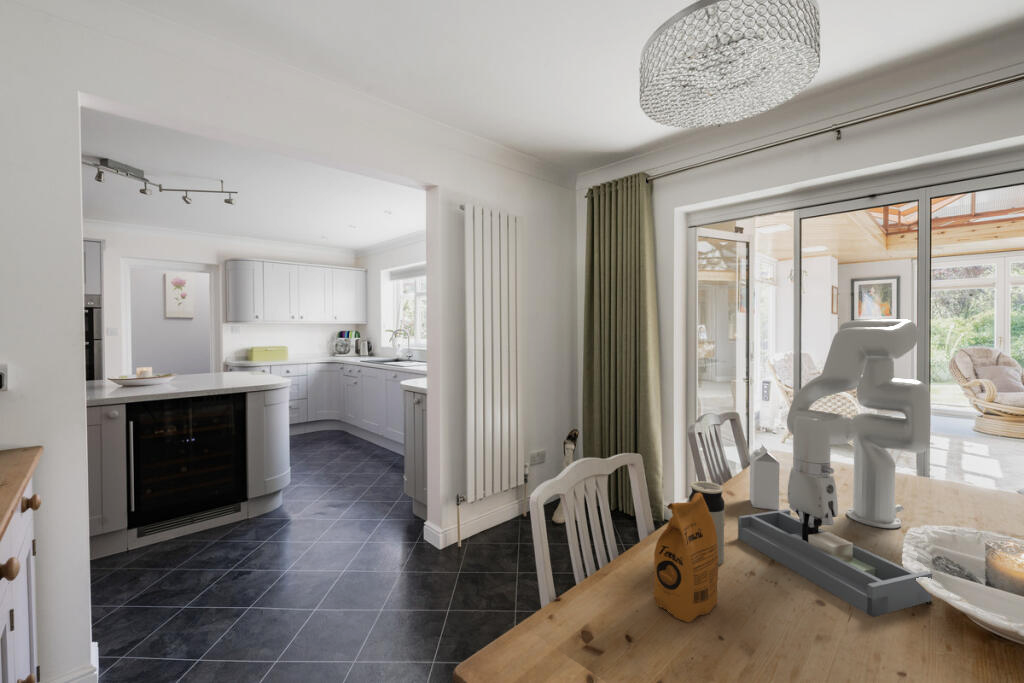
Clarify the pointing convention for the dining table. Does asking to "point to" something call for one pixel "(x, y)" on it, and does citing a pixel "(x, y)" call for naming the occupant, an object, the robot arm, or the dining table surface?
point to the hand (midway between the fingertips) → (810, 540)
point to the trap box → (834, 565)
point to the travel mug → (713, 509)
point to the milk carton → (764, 479)
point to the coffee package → (687, 561)
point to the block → (832, 545)
